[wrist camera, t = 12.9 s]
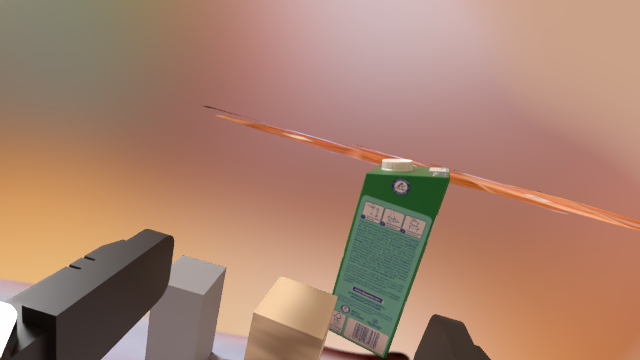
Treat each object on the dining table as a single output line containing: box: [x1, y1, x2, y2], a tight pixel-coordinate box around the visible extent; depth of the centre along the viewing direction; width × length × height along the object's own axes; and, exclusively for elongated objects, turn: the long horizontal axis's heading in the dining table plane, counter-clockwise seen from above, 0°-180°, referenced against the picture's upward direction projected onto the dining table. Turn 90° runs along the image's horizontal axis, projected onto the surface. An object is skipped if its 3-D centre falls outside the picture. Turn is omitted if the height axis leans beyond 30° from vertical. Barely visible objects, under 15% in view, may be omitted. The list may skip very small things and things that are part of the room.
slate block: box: [145, 255, 226, 360], centre depth 31 cm, size 5×5×11 cm
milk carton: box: [328, 159, 450, 359], centre depth 41 cm, size 9×9×25 cm
